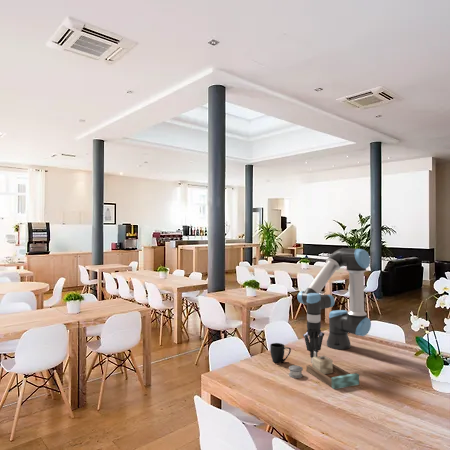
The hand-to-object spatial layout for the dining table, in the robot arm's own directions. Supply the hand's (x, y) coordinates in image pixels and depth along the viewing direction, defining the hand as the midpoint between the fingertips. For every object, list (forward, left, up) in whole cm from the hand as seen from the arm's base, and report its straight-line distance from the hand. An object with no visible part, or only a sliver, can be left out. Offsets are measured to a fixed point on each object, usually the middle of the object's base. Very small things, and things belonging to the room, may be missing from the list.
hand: (313, 363), depth 205 cm
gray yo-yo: (+16, +7, -2) cm, 17 cm away
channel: (0, +15, -2) cm, 15 cm away
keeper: (0, +8, -2) cm, 8 cm away
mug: (+14, -13, -2) cm, 19 cm away
